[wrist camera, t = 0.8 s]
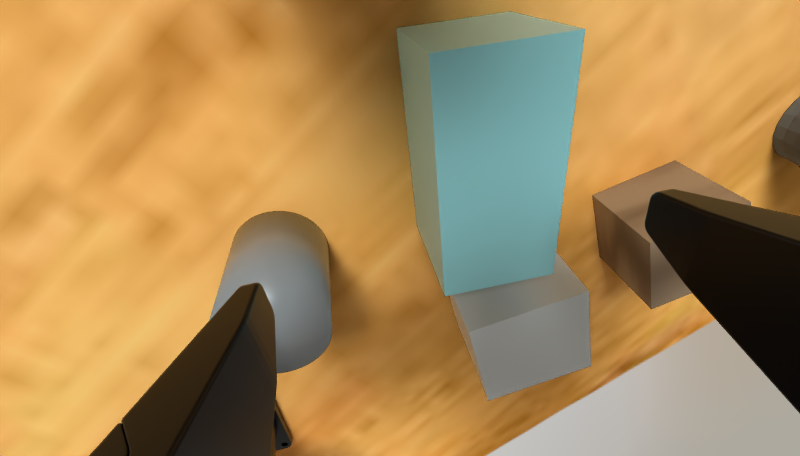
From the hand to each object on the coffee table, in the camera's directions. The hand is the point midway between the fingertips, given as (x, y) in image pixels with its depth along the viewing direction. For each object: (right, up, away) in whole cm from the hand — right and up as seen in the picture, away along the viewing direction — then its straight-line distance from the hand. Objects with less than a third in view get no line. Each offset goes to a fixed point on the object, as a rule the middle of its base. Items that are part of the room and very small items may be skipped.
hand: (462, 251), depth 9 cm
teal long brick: (+1, +5, +11) cm, 12 cm away
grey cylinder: (-8, -1, +13) cm, 15 cm away
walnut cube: (+13, +2, +16) cm, 21 cm away
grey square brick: (+4, -3, +17) cm, 18 cm away
